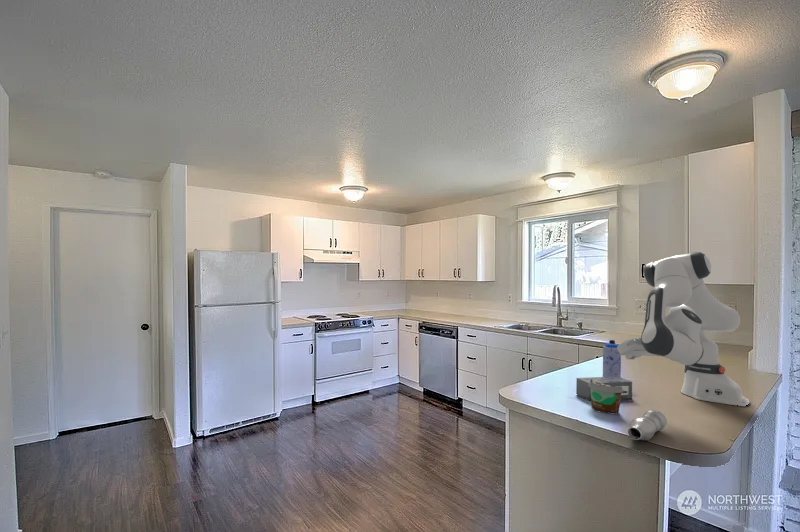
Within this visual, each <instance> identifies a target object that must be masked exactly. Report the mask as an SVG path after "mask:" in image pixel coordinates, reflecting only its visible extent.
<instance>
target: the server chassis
mask: <svg viewBox="0 0 800 532" xmlns="http://www.w3.org/2000/svg"><path fill="white" fill-rule="evenodd" d="M590 379H592V381H593V382H597V383H604V384H608V385H611V386H613V387H620V386H622V388H623V392H622V393H621V398H620V400H631V399H630V398H632V399H633V381H632V380H629V379H626V378H623V377H621V378H620V377H618V376H617V377H603V376H597V377H596V376H595V377H594V376H593V377H591V376H589V377H576V381H575V382H576V386H575V387H576V388H575V389H576V391H575V392H576V394H577V395H576V394H575V395H576V396H578V395H579V396H578V397H580V396H581V398H582V397H583V399H584V398H585V399H584V400H586V399H587V400H586V401H588V400H589V402H591V391H590V387H589V386H588V384H589V381H590Z"/></svg>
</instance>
